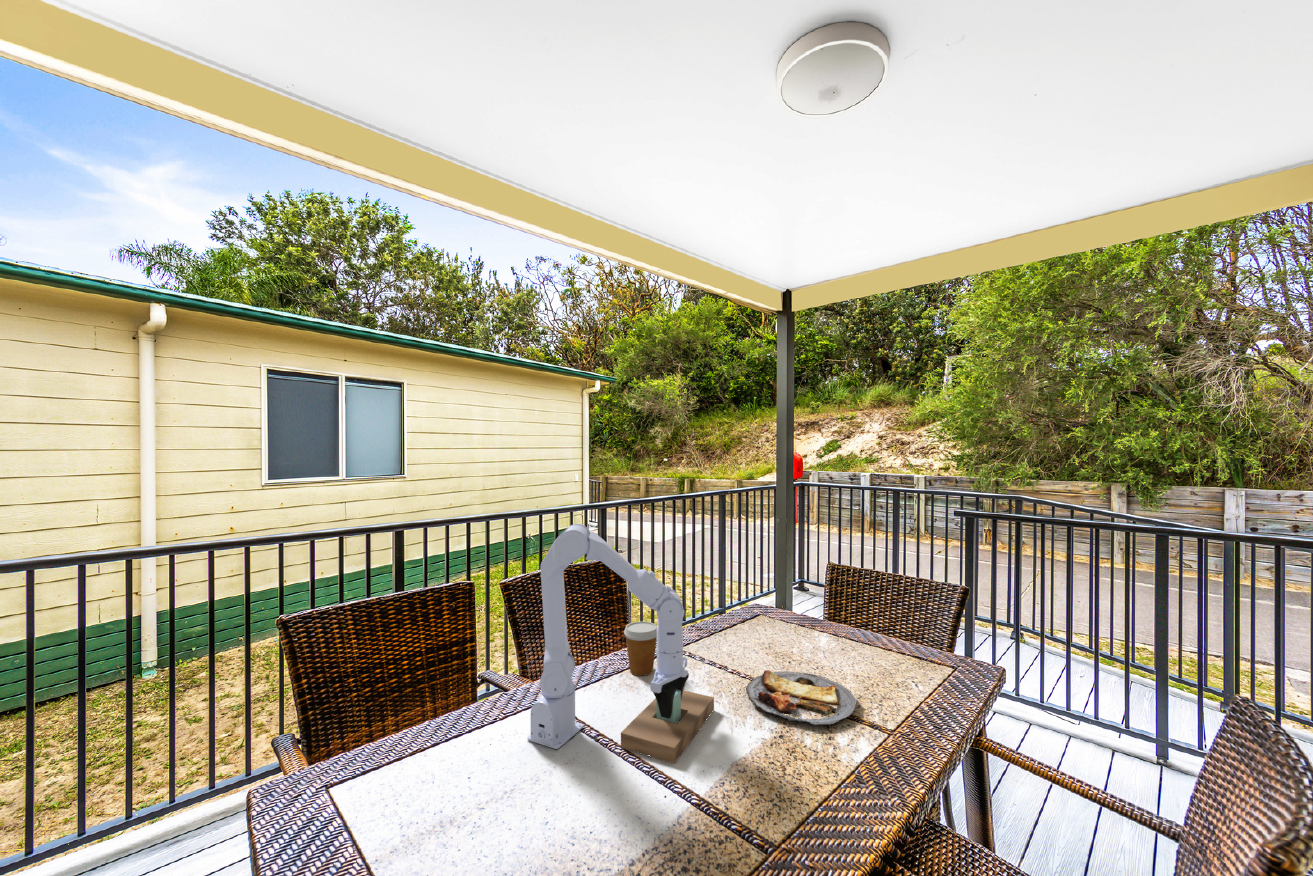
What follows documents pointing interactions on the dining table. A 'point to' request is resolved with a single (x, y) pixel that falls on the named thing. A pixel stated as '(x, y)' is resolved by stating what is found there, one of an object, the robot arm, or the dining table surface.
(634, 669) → the disposable coffee cup
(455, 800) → the dining table surface
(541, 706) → the robot arm
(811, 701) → the food plate
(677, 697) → the teal block
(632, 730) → the well board
